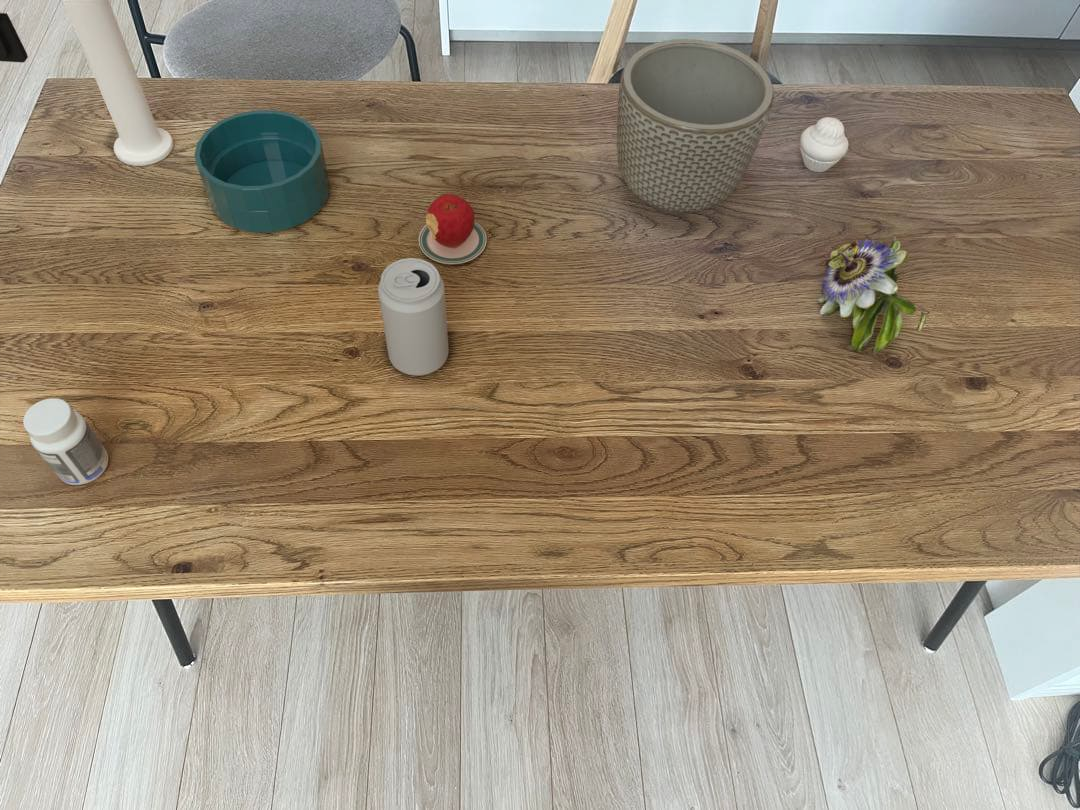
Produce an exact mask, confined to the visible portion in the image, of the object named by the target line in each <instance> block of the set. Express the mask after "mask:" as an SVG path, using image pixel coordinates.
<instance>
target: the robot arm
mask: <svg viewBox="0 0 1080 810" xmlns="http://www.w3.org/2000/svg"><path fill="white" fill-rule="evenodd" d="M28 58H29V55H28V53H27V51H26V48H25V47H24V44H23V42H22V41H21V39H20V36H19V34H18V32H17V31H16V28H15V26H14V25H13V22H12V20H11V18H10V16H9V14H8V13H6V12H5V13H4V12H0V62H5V63H6V62H7V63H22V64H23V63H25V62H26V61H27V59H28Z"/></svg>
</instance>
